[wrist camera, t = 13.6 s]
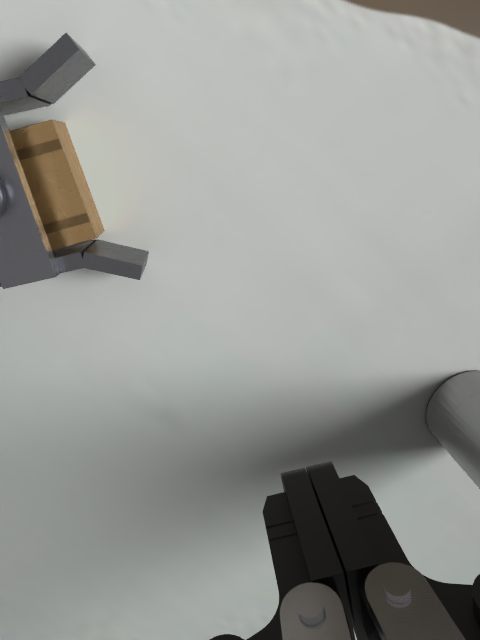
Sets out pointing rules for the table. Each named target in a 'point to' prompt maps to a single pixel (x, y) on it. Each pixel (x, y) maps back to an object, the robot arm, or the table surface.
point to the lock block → (57, 183)
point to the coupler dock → (14, 193)
